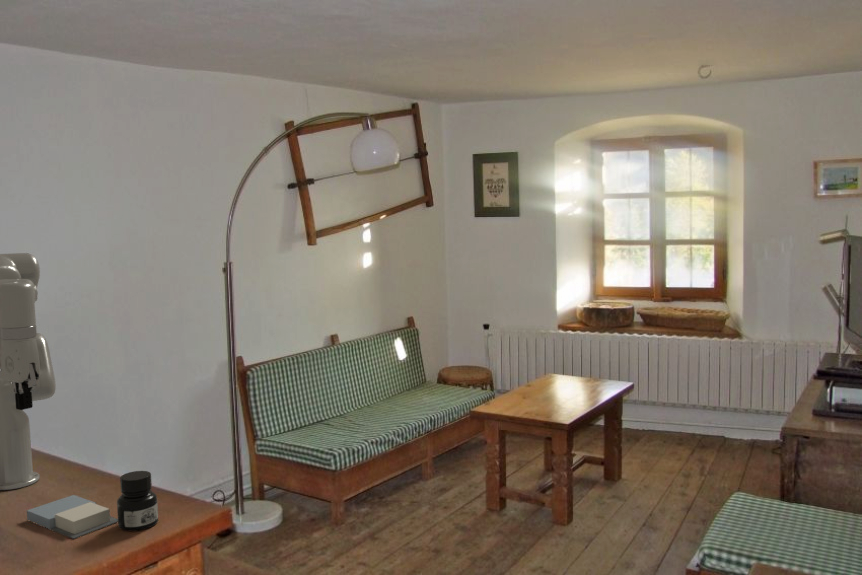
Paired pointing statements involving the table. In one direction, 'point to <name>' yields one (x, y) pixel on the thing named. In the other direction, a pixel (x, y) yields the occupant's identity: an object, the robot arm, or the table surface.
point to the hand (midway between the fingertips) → (24, 408)
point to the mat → (74, 536)
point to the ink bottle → (136, 502)
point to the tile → (82, 517)
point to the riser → (54, 510)
